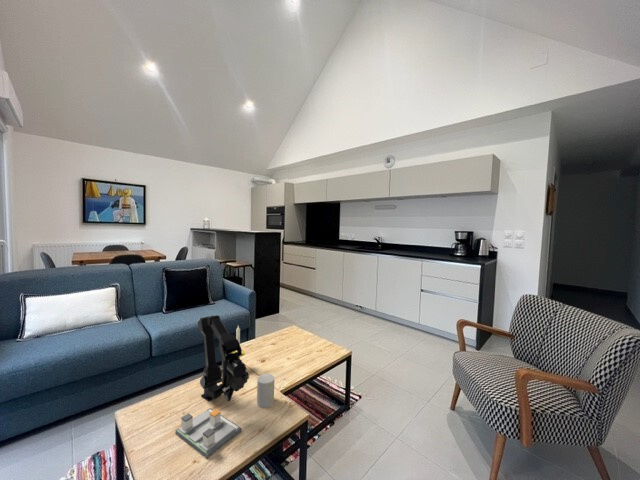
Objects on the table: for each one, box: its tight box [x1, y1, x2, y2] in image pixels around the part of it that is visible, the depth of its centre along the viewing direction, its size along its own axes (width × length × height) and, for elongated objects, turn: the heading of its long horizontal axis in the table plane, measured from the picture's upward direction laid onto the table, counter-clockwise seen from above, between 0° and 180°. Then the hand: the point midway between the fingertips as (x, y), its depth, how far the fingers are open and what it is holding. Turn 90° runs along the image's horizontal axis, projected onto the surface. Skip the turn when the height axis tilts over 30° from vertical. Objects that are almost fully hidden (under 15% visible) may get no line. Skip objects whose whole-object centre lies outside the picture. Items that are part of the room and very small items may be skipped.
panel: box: [175, 407, 242, 459], centre depth 110 cm, size 21×16×2 cm
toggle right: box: [203, 428, 215, 447], centre depth 102 cm, size 3×3×4 cm
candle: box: [232, 325, 246, 359], centre depth 157 cm, size 10×10×27 cm
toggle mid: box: [210, 408, 221, 425], centre depth 112 cm, size 3×3×4 cm
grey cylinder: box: [256, 373, 275, 409], centre depth 129 cm, size 8×8×12 cm
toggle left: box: [180, 413, 194, 430], centre depth 110 cm, size 3×3×4 cm
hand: (228, 401), depth 118 cm, fingers closed
